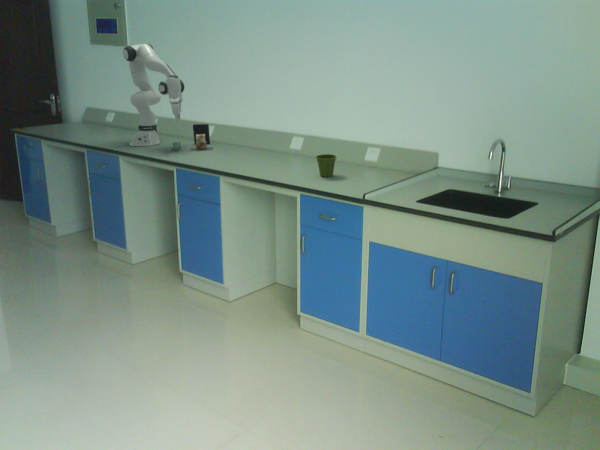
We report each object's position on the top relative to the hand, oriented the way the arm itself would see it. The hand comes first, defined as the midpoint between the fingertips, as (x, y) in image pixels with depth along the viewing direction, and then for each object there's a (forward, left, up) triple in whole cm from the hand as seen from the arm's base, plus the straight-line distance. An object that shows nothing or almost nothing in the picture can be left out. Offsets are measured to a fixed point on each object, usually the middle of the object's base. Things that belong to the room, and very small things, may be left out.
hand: (178, 120), depth 415 cm
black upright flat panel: (+14, +21, -22) cm, 33 cm away
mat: (+14, +1, -22) cm, 26 cm away
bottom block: (+14, +1, -21) cm, 26 cm away
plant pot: (+87, -95, -22) cm, 131 cm away
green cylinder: (-3, +1, -22) cm, 22 cm away
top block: (+14, +1, -16) cm, 22 cm away
